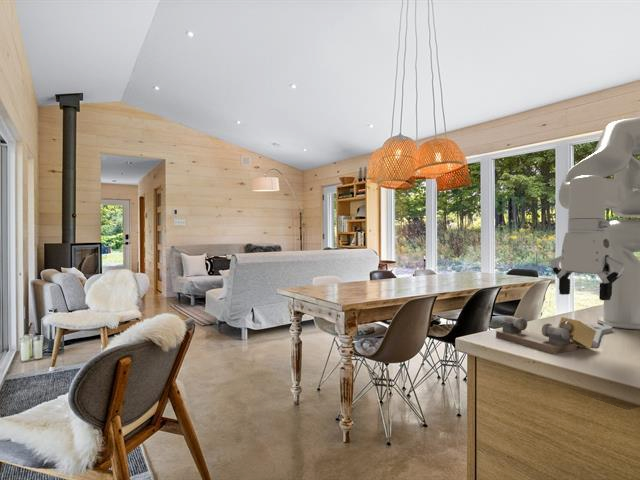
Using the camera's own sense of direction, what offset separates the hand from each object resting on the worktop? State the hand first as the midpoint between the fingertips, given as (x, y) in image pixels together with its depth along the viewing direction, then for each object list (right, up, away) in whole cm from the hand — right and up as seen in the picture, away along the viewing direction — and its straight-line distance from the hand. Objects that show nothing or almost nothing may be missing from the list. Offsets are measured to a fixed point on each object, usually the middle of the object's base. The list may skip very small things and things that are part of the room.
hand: (583, 297), depth 98 cm
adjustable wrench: (+8, -12, +9) cm, 18 cm away
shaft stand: (-11, -12, +2) cm, 16 cm away
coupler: (0, -10, 0) cm, 10 cm away
